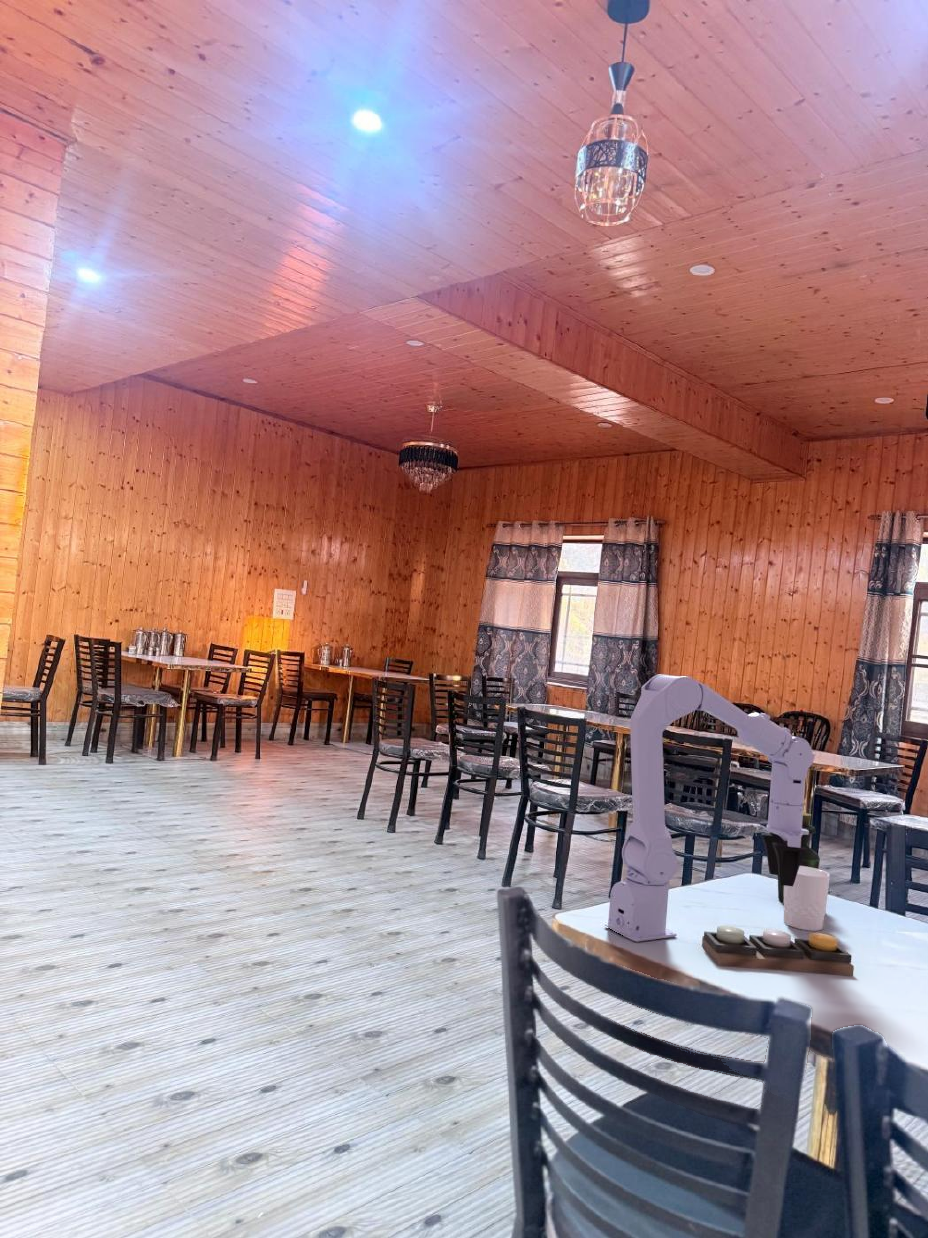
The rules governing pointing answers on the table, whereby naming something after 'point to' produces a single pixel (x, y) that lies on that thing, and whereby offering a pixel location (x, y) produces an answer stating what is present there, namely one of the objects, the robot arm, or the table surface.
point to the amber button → (823, 941)
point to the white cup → (806, 899)
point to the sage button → (730, 934)
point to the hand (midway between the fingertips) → (780, 879)
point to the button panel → (777, 955)
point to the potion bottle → (811, 856)
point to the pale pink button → (776, 938)
